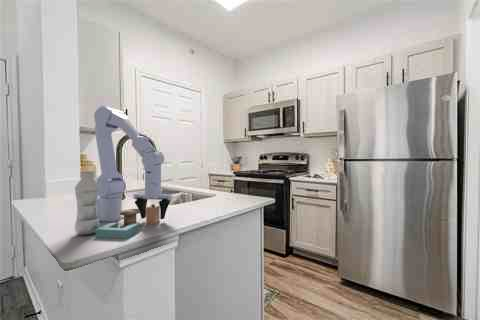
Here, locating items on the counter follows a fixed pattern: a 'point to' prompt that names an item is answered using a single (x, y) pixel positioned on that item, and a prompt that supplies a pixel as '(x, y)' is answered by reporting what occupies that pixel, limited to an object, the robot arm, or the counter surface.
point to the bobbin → (129, 217)
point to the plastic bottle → (87, 204)
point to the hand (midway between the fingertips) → (153, 218)
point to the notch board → (116, 231)
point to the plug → (152, 214)
